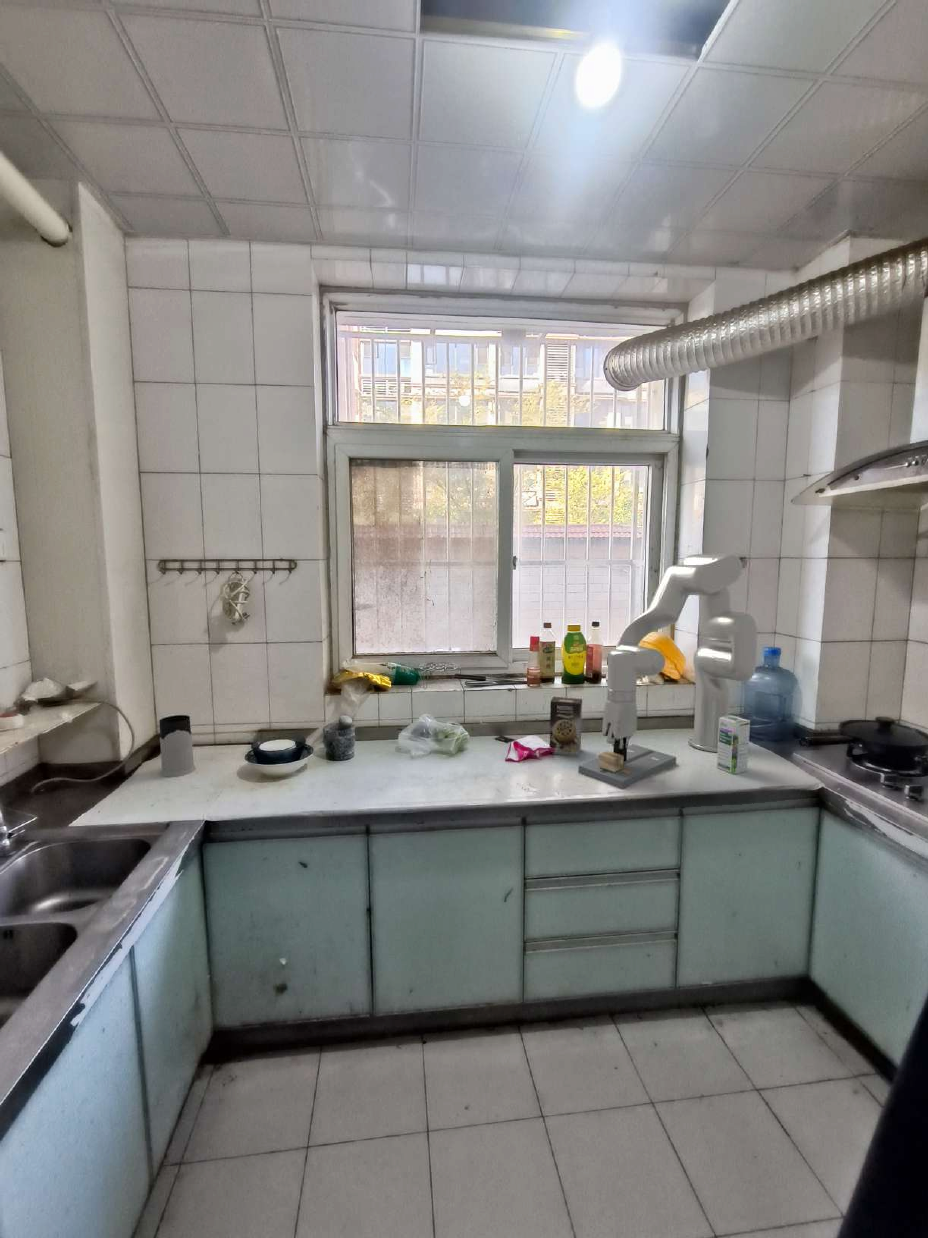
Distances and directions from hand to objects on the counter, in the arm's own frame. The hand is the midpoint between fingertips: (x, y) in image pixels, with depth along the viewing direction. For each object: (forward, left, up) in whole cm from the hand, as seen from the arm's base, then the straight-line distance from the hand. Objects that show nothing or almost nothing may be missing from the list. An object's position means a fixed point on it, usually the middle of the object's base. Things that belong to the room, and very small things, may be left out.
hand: (619, 760), depth 147 cm
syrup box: (-25, +19, -3) cm, 32 cm away
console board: (-4, 0, -3) cm, 5 cm away
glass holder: (+93, -83, -3) cm, 125 cm away
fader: (+4, 0, -1) cm, 4 cm away
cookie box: (-1, -20, -3) cm, 20 cm away
